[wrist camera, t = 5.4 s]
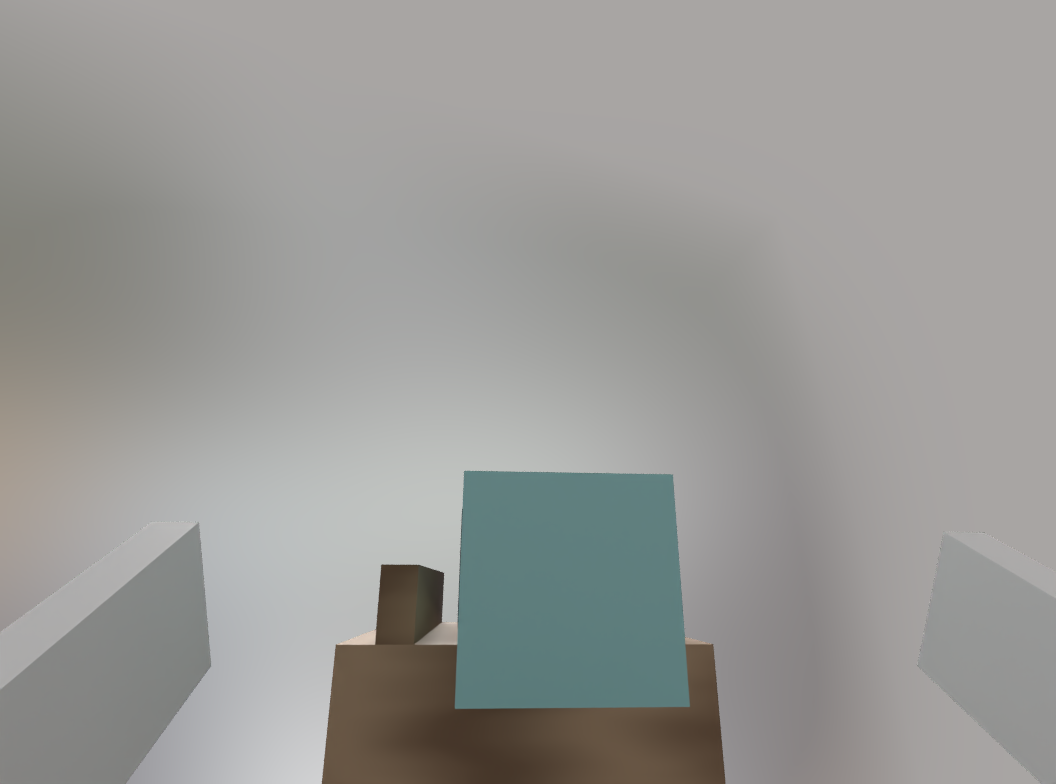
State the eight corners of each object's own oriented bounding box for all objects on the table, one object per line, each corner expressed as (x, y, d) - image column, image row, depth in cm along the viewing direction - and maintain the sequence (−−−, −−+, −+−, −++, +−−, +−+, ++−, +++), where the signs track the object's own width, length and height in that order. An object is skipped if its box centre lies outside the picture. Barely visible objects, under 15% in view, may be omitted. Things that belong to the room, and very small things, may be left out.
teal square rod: (398, 709, 7) (420, 376, 9) (462, 620, 26) (465, 520, 28) (743, 706, 8) (711, 384, 9) (559, 620, 26) (558, 521, 28)
